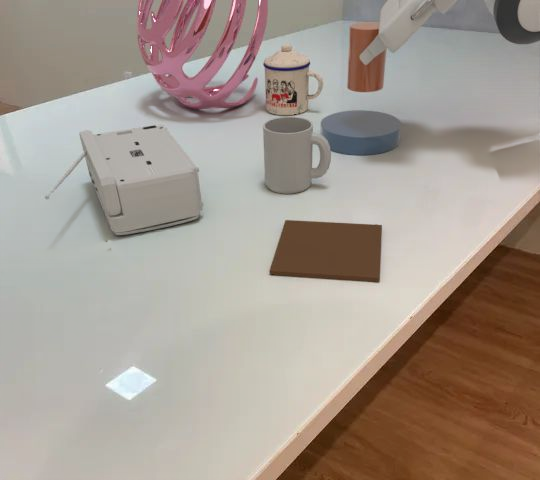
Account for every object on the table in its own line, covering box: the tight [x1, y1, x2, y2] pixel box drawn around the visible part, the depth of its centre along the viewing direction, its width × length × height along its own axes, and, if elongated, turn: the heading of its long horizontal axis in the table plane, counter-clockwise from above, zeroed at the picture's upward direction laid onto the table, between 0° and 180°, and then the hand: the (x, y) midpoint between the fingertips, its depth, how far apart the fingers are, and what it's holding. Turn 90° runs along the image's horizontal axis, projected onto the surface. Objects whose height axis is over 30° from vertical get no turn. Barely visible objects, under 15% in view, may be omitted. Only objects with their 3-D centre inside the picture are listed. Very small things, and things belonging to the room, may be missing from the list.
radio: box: [44, 124, 204, 236], centre depth 80 cm, size 21×8×20 cm
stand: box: [319, 109, 403, 156], centre depth 98 cm, size 14×14×3 cm
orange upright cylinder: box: [346, 21, 388, 93], centre depth 90 cm, size 6×6×9 cm
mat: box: [269, 219, 383, 283], centre depth 70 cm, size 13×13×1 cm
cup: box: [262, 116, 332, 195], centre depth 83 cm, size 7×10×9 cm
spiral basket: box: [136, 0, 269, 110], centre depth 110 cm, size 28×28×27 cm
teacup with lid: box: [262, 43, 324, 116], centre depth 109 cm, size 12×9×12 cm
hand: (363, 54), depth 90 cm, fingers closed on orange upright cylinder, 6 cm apart
